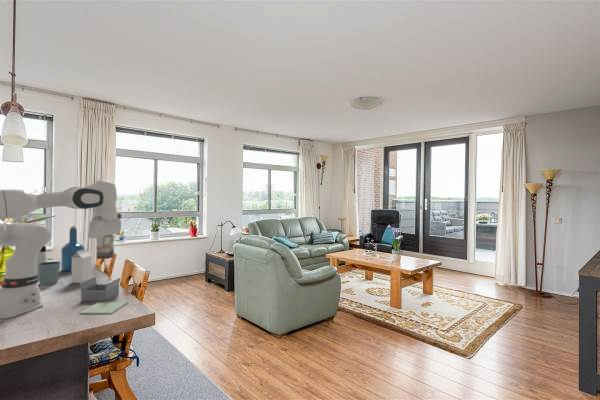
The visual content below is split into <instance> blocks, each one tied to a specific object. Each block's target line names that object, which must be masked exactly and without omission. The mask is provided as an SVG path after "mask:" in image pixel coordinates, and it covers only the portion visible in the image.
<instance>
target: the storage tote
mask: <svg viewBox="0 0 600 400" xmlns="http://www.w3.org/2000/svg"><path fill="white" fill-rule="evenodd" d="M120 281H121V276H118V277H117V278H115V279H112V280H110V281H107V282H106V283H105V284H104V283H103V284H102V283H97V277H96V276H93V277H91V279H89V280H86V281H84V282H81V283H79V287H80V292H81V293H80V295H81V296H80V298H81V299H80V301H81V302H108V301H109V300H111V299H113V298H114V297H116V296H117V295H119V294H120Z"/></svg>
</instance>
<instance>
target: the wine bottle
mask: <svg viewBox="0 0 600 400" xmlns="http://www.w3.org/2000/svg"><path fill="white" fill-rule="evenodd" d="M77 229H78V228H77V227H76V226H73V225H72V226H70V229H69V233H68V234H69V242H68V243H66V244H65V245H63V246H62V248H61V250H60V269H61V272H68V273H69V272H72V257H73V256H74V255H75V254H76V253H77V251H80V250H85V246H83V244H81V243H78V231H77Z"/></svg>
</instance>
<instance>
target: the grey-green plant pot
mask: <svg viewBox="0 0 600 400" xmlns="http://www.w3.org/2000/svg"><path fill="white" fill-rule="evenodd" d="M38 269H39V278H40V279H38V283H39V285H40V286H44V287H45V286H51V285H57V284H58V283H59V275H60V269H61V261H46V262H43V263H39V264H38Z"/></svg>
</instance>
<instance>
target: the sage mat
mask: <svg viewBox="0 0 600 400" xmlns="http://www.w3.org/2000/svg"><path fill="white" fill-rule="evenodd" d="M128 304H129V303H128V301H96V303H94V304H93V305H90V306H88V307H87V308H84V310H81V311H79V315H112V313H113V314H114V313H115V311H116V312H117V311H118V309H119V310H120V309H121V308H123V307H125V306H126V305H128Z"/></svg>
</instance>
